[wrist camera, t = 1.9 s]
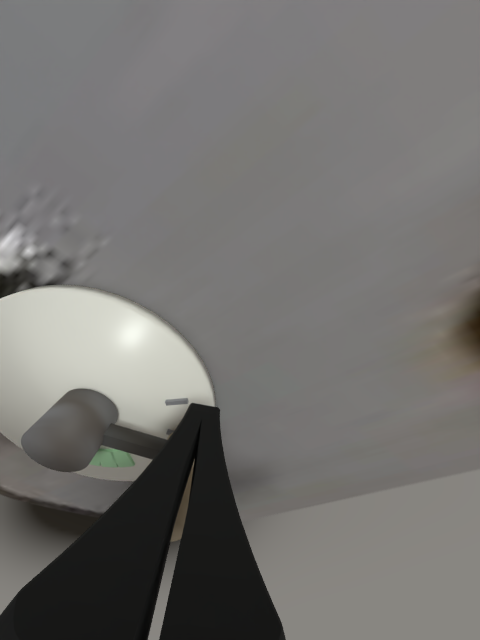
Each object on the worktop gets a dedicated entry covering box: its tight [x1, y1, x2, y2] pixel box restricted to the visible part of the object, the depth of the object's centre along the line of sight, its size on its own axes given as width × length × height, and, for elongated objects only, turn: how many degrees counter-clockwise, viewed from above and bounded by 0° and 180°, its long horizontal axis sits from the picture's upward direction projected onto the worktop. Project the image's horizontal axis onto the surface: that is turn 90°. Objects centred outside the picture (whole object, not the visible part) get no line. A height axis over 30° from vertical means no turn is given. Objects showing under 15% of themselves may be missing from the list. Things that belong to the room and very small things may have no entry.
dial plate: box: [0, 285, 216, 481], centre depth 15 cm, size 16×16×1 cm
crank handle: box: [21, 388, 195, 542], centre depth 13 cm, size 10×4×5 cm, turn 68°
